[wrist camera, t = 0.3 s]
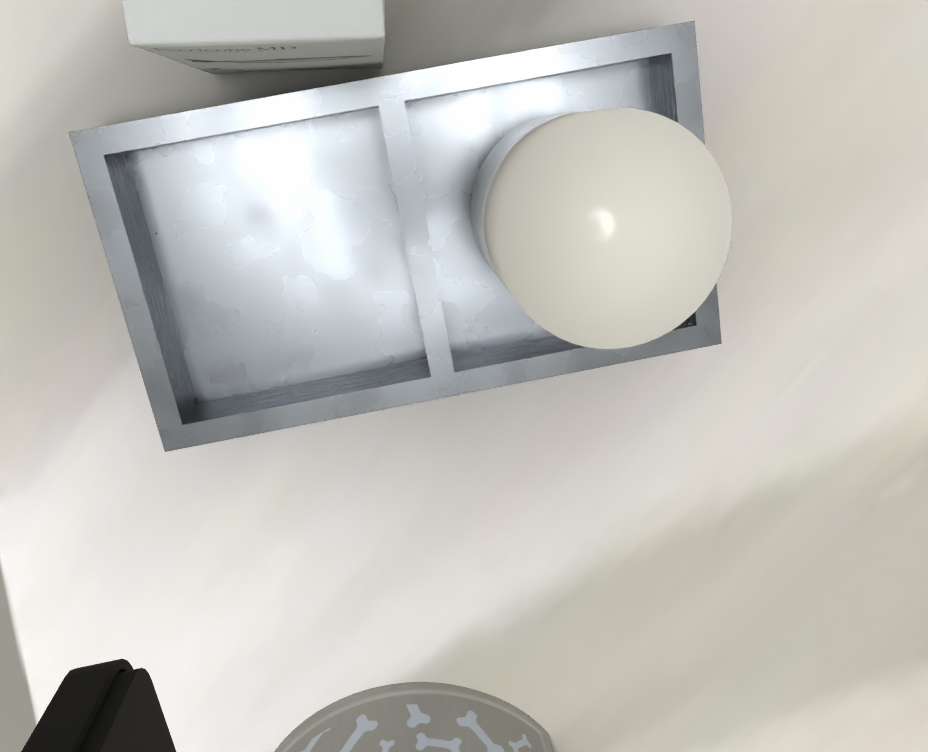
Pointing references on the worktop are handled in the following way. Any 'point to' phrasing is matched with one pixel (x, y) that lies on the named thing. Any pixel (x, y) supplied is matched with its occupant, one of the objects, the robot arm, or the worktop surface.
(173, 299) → the divided grey tray
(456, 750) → the dog bowl
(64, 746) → the robot arm
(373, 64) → the supplement box
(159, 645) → the worktop surface
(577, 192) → the white rounded cylinder
